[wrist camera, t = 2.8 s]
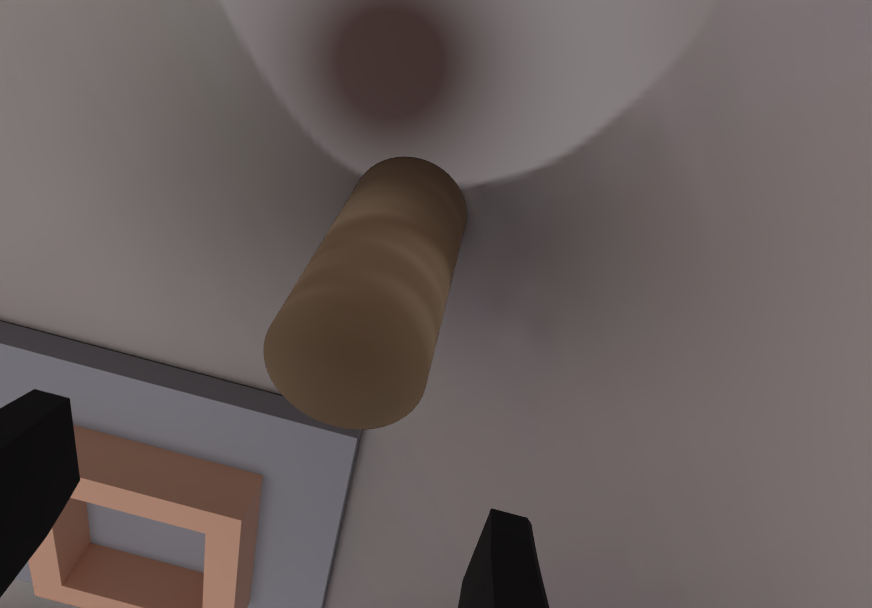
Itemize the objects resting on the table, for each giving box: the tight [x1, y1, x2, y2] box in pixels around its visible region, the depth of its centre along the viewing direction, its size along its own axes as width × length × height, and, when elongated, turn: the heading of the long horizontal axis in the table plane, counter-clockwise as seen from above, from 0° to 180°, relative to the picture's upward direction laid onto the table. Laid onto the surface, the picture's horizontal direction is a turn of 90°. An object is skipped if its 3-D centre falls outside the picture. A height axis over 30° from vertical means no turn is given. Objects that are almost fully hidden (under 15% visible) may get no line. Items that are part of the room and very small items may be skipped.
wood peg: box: [264, 157, 467, 430], centre depth 16 cm, size 3×3×7 cm
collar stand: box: [0, 321, 362, 608], centre depth 26 cm, size 14×14×3 cm
